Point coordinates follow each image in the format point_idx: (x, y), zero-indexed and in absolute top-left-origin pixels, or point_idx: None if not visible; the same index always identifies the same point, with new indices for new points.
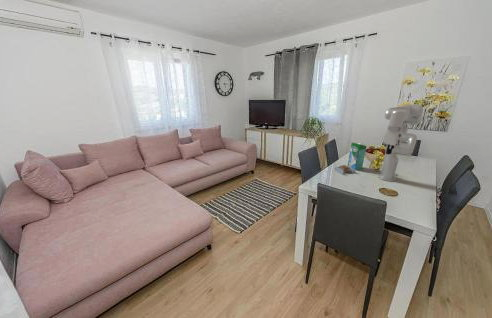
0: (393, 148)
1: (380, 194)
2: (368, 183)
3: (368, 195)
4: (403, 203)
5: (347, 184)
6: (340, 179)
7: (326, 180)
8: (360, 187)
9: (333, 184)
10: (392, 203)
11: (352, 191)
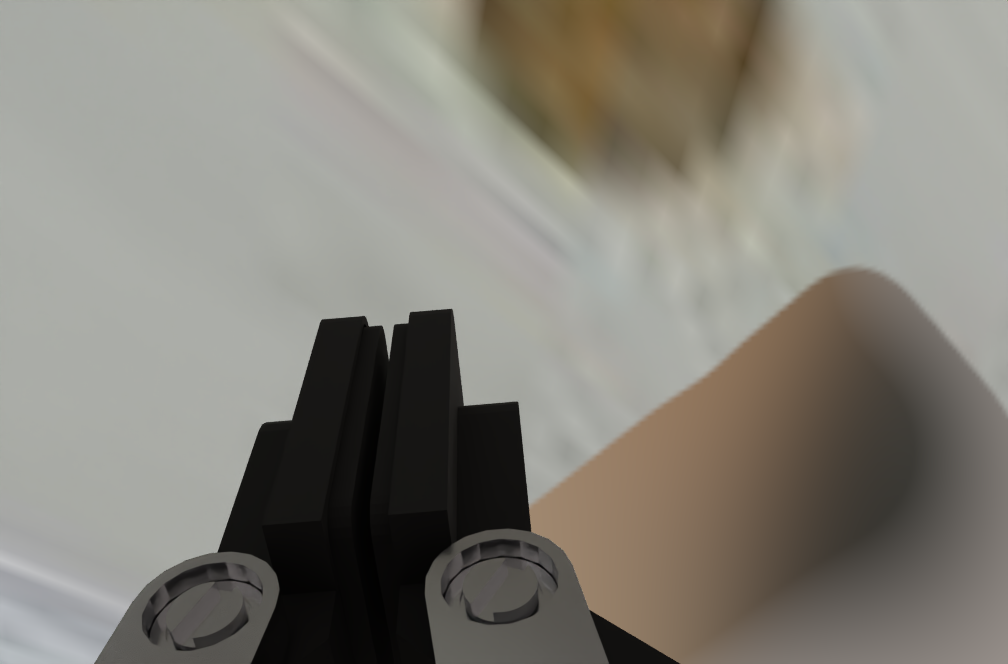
0: (570, 566)
1: (663, 228)
2: (256, 116)
3: (640, 408)
4: (984, 111)
5: None
6: (77, 464)
7: None
8: None
9: None
10: (915, 266)
11: None
